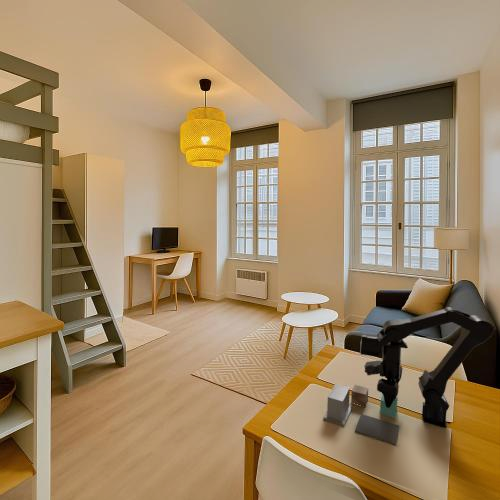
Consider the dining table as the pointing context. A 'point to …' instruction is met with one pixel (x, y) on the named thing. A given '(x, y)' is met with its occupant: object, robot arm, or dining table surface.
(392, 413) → the teal block
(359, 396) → the walnut block
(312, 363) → the dining table surface
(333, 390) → the grey upright box
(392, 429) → the dark grey mat
